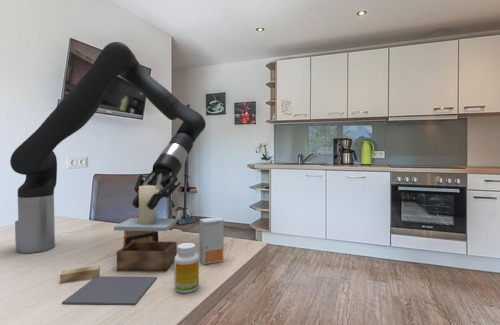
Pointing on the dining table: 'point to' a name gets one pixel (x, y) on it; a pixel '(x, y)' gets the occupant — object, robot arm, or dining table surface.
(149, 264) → the wooden box
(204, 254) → the skincare box
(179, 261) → the supplement bottle
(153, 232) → the ammunition clip
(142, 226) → the lid
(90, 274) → the wooden block
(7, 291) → the dining table surface
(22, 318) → the dining table surface
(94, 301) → the mat
